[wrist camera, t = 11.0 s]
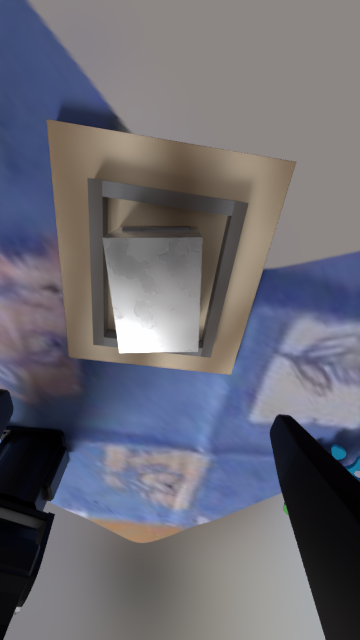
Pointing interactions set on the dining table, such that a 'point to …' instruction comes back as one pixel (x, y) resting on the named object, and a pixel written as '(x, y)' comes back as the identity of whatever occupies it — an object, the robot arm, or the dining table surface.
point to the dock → (162, 210)
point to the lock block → (155, 287)
